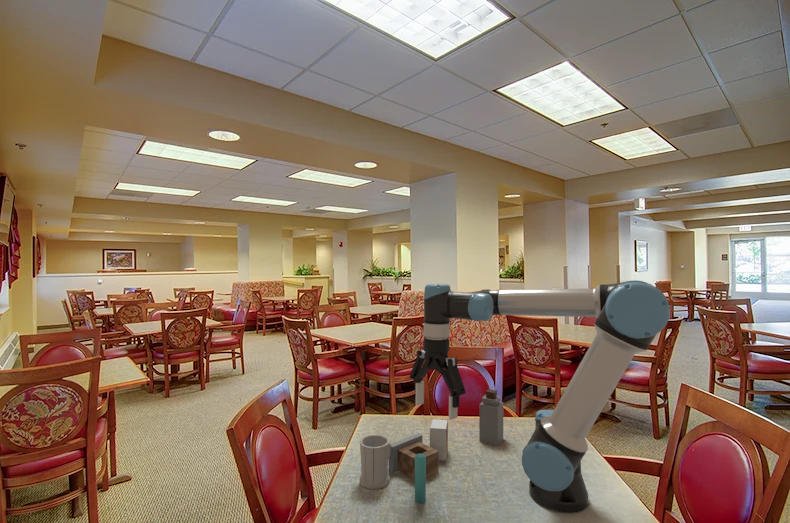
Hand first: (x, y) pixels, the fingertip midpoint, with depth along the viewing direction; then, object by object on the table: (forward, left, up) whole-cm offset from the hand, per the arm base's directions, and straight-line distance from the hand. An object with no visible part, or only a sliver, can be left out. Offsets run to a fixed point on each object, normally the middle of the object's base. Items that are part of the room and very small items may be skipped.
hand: (435, 411), depth 113 cm
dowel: (-1, +7, -22) cm, 23 cm away
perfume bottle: (+8, -39, -22) cm, 45 cm away
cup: (+15, +10, -22) cm, 29 cm away
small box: (+13, -16, -22) cm, 30 cm away
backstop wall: (+15, -3, -22) cm, 27 cm away
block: (+10, -3, -22) cm, 24 cm away
